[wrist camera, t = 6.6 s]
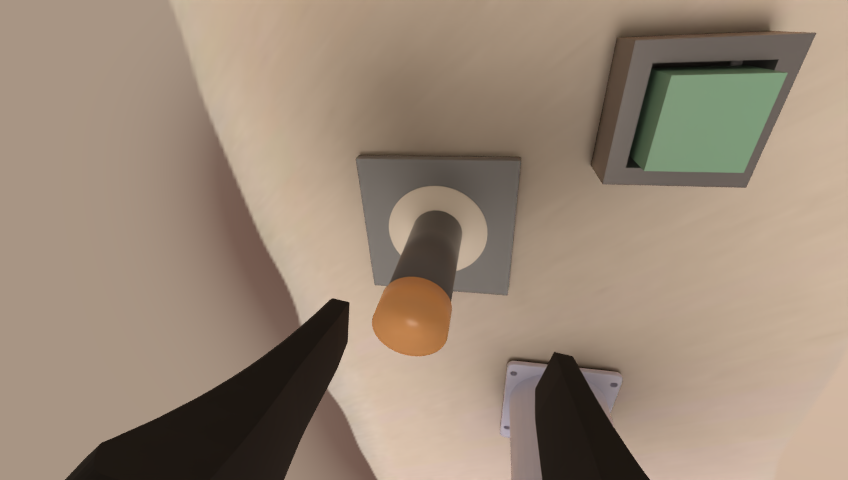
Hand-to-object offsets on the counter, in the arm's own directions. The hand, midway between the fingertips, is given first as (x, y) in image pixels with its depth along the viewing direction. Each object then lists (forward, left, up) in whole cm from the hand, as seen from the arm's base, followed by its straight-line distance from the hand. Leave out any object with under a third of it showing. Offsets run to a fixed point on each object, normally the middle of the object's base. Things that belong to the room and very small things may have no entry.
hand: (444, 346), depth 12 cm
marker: (-1, +2, -10) cm, 10 cm away
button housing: (+6, -9, -10) cm, 15 cm away
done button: (+6, -9, -9) cm, 14 cm away
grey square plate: (-1, +2, -10) cm, 11 cm away
